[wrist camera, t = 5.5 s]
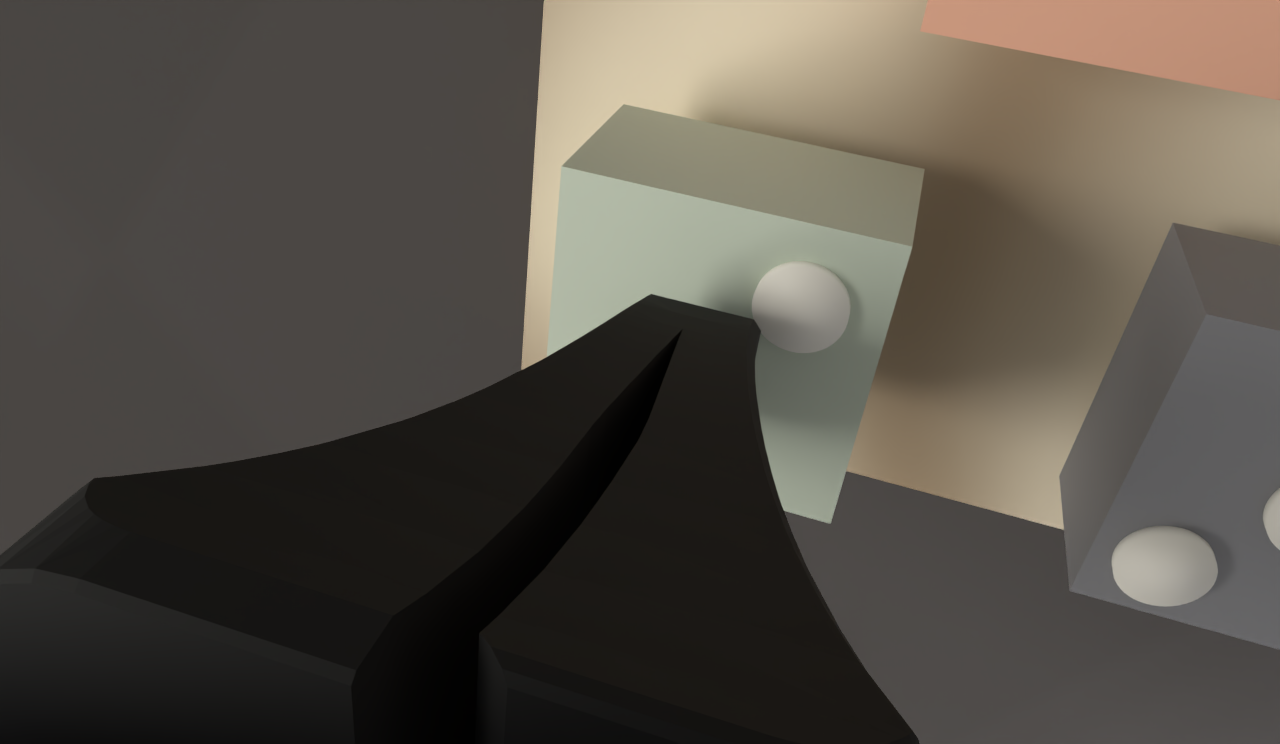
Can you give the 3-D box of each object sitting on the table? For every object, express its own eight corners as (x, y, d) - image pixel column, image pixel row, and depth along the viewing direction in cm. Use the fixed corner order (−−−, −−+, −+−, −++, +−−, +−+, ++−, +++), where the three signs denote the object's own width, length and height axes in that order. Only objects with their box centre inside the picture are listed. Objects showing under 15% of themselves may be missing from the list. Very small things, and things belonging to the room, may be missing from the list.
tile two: (924, 169, 13) (911, 251, 11) (851, 421, 15) (828, 531, 13) (623, 104, 14) (556, 171, 11) (596, 354, 16) (535, 448, 14)
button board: (2121, -502, 9) (2295, -539, 8) (1371, 555, 16) (1401, 621, 15) (628, -627, 12) (584, -669, 10) (551, 340, 19) (520, 383, 18)
